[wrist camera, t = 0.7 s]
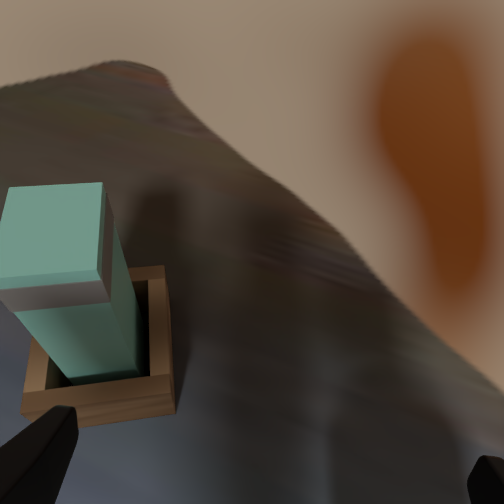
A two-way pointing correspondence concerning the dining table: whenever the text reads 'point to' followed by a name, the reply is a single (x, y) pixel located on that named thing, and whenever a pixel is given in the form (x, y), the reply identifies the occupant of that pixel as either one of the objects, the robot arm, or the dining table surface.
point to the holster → (113, 392)
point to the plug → (71, 281)
